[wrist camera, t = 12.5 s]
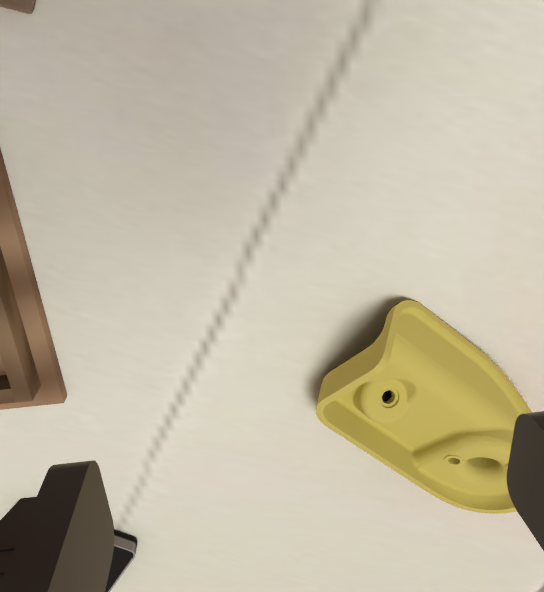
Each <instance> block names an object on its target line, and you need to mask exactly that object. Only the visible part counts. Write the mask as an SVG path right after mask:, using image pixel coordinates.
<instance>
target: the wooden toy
mask: <svg viewBox="0 0 544 592" xmlns="http://www.w3.org/2000/svg"><path fill="white" fill-rule="evenodd" d="M34 4H35V0H0V6H1V7H5V8H8V9H12V10H16V11H20V12H23V13H27V14H31V13H32V12H33V8H34Z"/></svg>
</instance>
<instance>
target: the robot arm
mask: <svg viewBox="0 0 544 592" xmlns="http://www.w3.org/2000/svg"><path fill="white" fill-rule="evenodd" d="M507 487H508V492H509V495H510V498H511V500H512V503H513V505H514V507H515V508H516V510H517V512H518V513H519V515H520V516H521V517H522V519H523V520H524V522H525V523H526V525H527V526H528V528H529V529H530V531H531V532H532V534H533V535H534V537H535V538H536V540H537V541H538V543H539V544H540V546H541V547H542V549H543V550H544V411H543V412H534V413H525V414H520V415H519V416H518V417H517V419H516V422H515V427H514V433H513V439H512V445H511V451H510V457H509V463H508V469H507ZM113 550H114V526H113V520H112V516H111V512H110V508H109V504H108V500H107V496H106V492H105V489H104V485H103V481H102V477H101V473H100V469H99V466H98V464H97V463H96V461H85V462H76V463H67V464H58V465H53V466H51V467H50V468H49V470H48V472H47V474H46V476H45V479H44V481H43V483H42V486H41V488H40V491H39V493H38V495H37V497H31V498H22V499H20V500H19V501H18V502H17V503H16V504H15V505H14V506H13V508H12V509H11V510H10V511H9V512H8V513H7V514H6V515H5V516H4V517H3V518H2V519H1V520H0V592H105V590H106V585H107V580H108V576H109V571H110V566H111V562H112V557H113Z"/></svg>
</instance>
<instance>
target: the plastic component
mask: <svg viewBox="0 0 544 592" xmlns="http://www.w3.org/2000/svg"><path fill="white" fill-rule="evenodd" d="M387 390H390V391H391V392H392V397H391V398H390V400H389V401H387V402H383V401H382V395H383V393H384V392H385V391H387ZM525 413H532V412H531V410H530V409H529V407H528V405H527V404H526V402H525V401H524V399H523V398H522V396H521V395H520V393H519V392H518V391H517V389H516V388H515V386H514V385H513V384H512V382H511V381H510V380H509V379H508V378H507V376H506V375H505V374H504V373H503V372H502V371H501V370H500V368H499V367H498V366H497V365H496V364H495V363H494V362H493V361H492V360H491V359H490V358H489V357H488V356H487V355H485V354H484V353H483V352H482V351H481V350H479V349H478V348H477V347H476V346H474V345H473V344H472V343H470V342H469V341H468V340H467V339H465V338H464V337H463V336H461V335H460V334H459V333H458V332H456V331H455V330H454V329H452V328H451V327H450V326H448V325H447V324H446V323H445V322H443V321H442V320H441V319H439V318H438V317H437V316H436V315H434V314H433V313H432V312H430V311H429V310H428V309H427V308H425V307H424V306H423V305H421V304H420V303H418V302H416V301H413V300H405V301H401V302H400V303H399V304H397V305H396V306H394V307H393V308H392V309H391V310H390V311H389V313H388V315H387V317H386V321H385V325H384V328H383V330H382V332H381V334H380V335H379V337H378V338H377V339H376V341H375V342H374V343H373V344H372V345H370V346H369V347H368V348H366V349H364V350H363V351H361V352H360V353H358V354H357V355H355V356H354V357H352V358H351V359H349V360H347V361H346V362H344V363H343V364H341V365H340V366H338V367H337V368H335V369H333V370H332V371H330V372H329V373H328V374H327V375H326V376H325V377H324V378H323V380H322V384H321V389H320V393H319V398H318V402H317V407H316V414H317V416H318V418H319V420H320V421H321V422H322V423H323V424H324V425H325V426H327V427H328V428H330V429H331V430H333V431H335V432H336V433H338V434H339V435H341V436H342V437H344V438H345V439H347V440H348V441H350V442H351V443H353V444H354V445H356V446H357V447H359V448H361V449H362V450H364V451H365V452H367V453H368V454H370V455H371V456H373V457H374V458H376V459H377V460H379V461H380V462H382V463H384V464H385V465H387V466H388V467H390V468H391V469H393V470H394V471H396V472H397V473H399V474H400V475H402V476H403V477H405V478H407V479H408V480H410V481H411V482H413V483H414V484H416V485H417V486H419V487H420V488H422V489H424V490H425V491H427V492H428V493H430V494H432V495H433V496H435V497H437V498H439V499H441V500H443V501H445V502H446V503H449V504H451V505H453V506H456V507H459V508H462V509H465V510H469V511H474V512H481V513H509V512H515V511H517V510H516V508H515V507H514V505H513V503H512V500H511V498H510V495H509V492H508V487H507V469H508V463H509V457H510V451H511V445H512V439H513V433H514V427H515V422H516V419H517V417H518V416H519V415H520V414H525Z"/></svg>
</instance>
